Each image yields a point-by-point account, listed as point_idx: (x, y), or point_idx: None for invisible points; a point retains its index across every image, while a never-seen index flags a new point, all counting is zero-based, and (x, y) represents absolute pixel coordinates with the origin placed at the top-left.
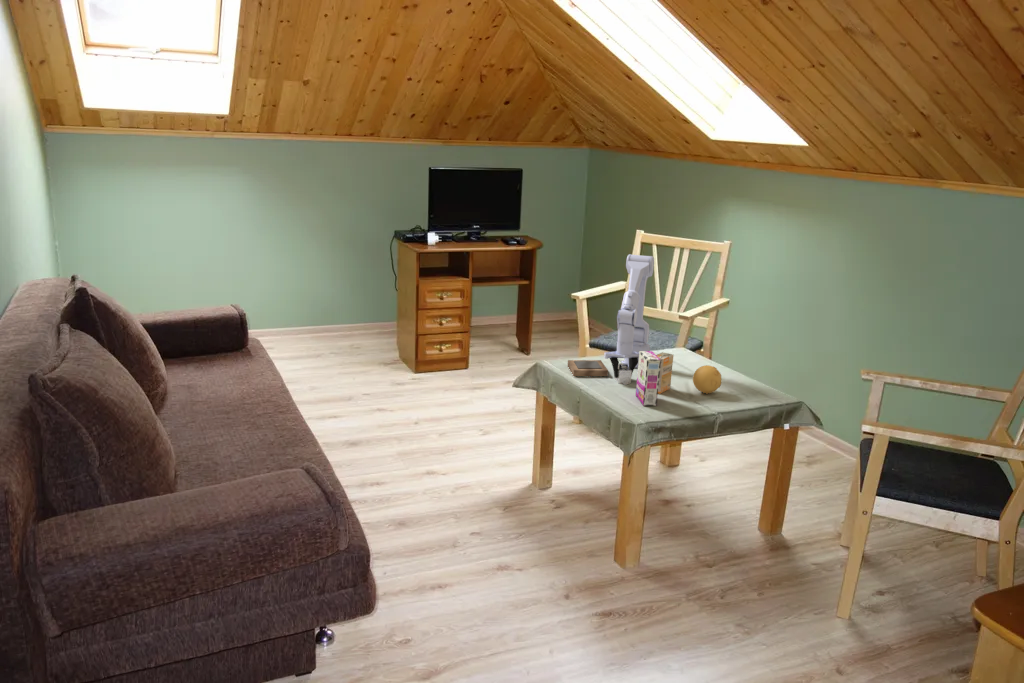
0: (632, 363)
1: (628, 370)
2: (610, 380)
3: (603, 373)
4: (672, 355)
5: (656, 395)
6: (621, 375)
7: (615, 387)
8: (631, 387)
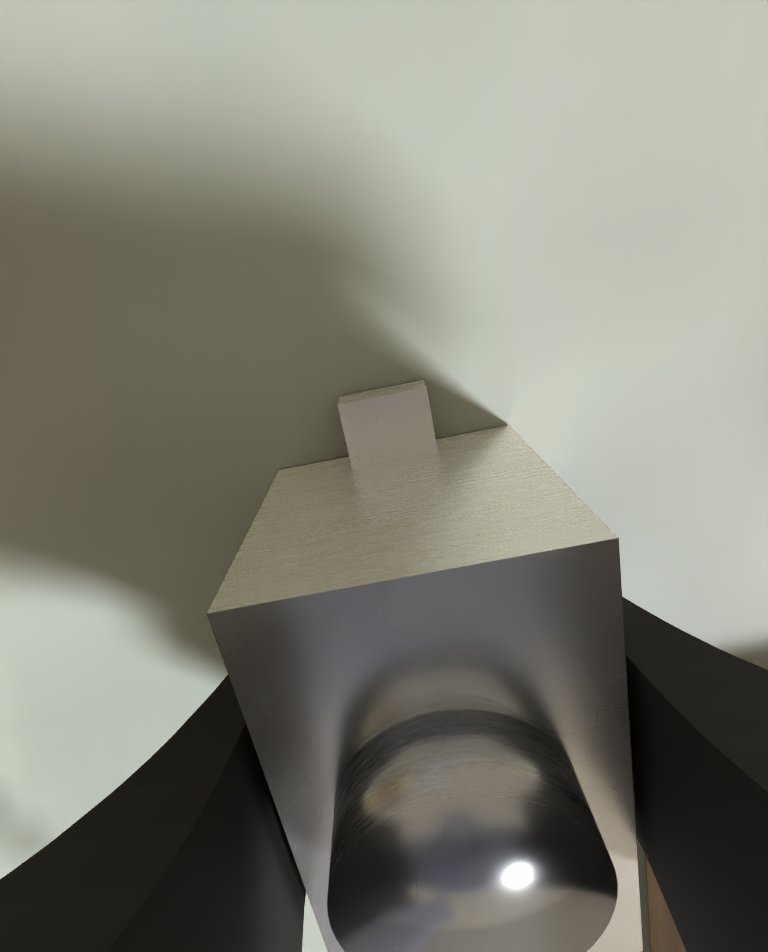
0: (118, 910)
1: (314, 595)
2: (626, 569)
3: None
4: None
5: None
6: (498, 489)
7: (603, 157)
8: (262, 228)
